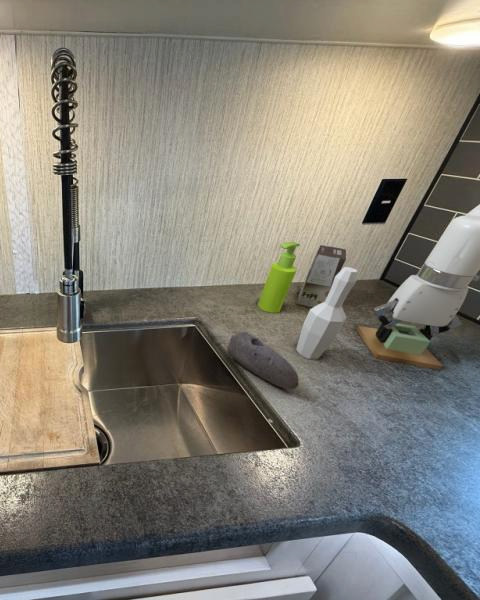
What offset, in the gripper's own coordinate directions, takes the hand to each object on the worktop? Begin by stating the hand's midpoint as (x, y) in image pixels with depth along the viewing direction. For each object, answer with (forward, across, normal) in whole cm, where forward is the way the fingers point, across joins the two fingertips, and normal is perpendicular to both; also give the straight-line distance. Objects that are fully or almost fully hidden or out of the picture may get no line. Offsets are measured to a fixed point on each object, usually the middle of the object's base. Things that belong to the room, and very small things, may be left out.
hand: (398, 342), depth 75 cm
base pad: (+2, 0, 0) cm, 2 cm away
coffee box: (+2, +13, -19) cm, 23 cm away
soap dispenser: (+2, +26, -10) cm, 28 cm away
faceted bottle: (+2, +20, +9) cm, 23 cm away
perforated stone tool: (+2, +33, +21) cm, 39 cm away
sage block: (+1, 0, 0) cm, 1 cm away
